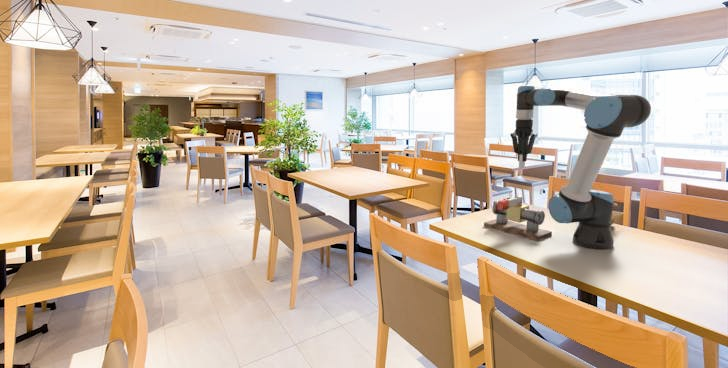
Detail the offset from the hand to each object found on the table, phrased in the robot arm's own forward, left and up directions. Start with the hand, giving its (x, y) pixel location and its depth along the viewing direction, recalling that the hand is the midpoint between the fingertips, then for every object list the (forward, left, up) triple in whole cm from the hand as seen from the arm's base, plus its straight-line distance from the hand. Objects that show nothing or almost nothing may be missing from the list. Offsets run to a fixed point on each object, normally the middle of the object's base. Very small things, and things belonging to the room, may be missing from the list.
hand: (521, 167), depth 190 cm
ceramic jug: (-23, -30, -29) cm, 48 cm away
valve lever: (-6, +16, -16) cm, 24 cm away
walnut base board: (-5, +10, -29) cm, 31 cm away
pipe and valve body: (-5, +10, -27) cm, 29 cm away
